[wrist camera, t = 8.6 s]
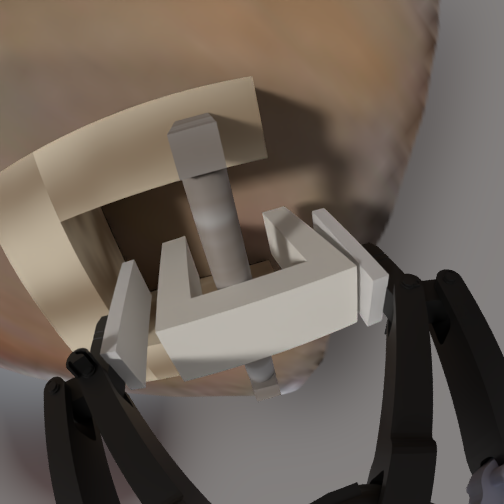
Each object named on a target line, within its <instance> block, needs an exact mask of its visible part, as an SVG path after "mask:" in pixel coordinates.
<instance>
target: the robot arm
mask: <svg viewBox="0 0 504 504" xmlns="http://www.w3.org/2000/svg"><path fill="white" fill-rule="evenodd" d="M312 218H313V229H314V230H315V231H316V232H317V233H318V234H319V235H321V236H322V237H323V238H324V239H325V240H327V241H328V242H329V243H330V244H331V245H333V246H334V247H335V248H336V249H337V250H339V251H340V252H341V253H342V254H343V255H344V256H346V257H347V258H348V259H349V260H350V261H351V262H353V263H354V264H355V265H356V266H357V312H358V313H359V315H360V316H361V317H362V319H363V320H364V322H365V323H366V325H367V326H370V325H373V324H375V323H378V322H380V321H381V320H382V316H383V312H384V314H385V315H386V316H387V318H388V320H387V325H386V329H385V334H387V335H386V336H387V338H386V362H385V378H384V390H383V400H382V410H381V418H380V426H379V433H378V440H377V446H376V452H375V457H374V461H373V464H372V466H371V470H370V473H369V477H368V482H367V484H362V485H358V483H357V482H356V483H354V484H352V485H349V486H346V487H344V488H341V489H338V490H336V491H333V492H330V493H328V494H326V495H324V496H322V497H321V498H319V499H317V500H316V501H314V502H312V503H310V504H434V503H431V502H430V501H431V495H432V489H433V483H434V474H435V466H436V456H437V445H436V442H435V441H434V440H433V438H432V422H433V420H432V419H433V376H432V357H431V344H430V334H431V337H432V339H433V342H434V345H435V347H436V350H437V353H438V355H439V358H440V362H441V364H442V367H443V370H444V374H445V377H446V379H447V383H448V386H449V390H450V393H451V397H452V400H453V404H454V408H455V411H456V415H457V419H458V423H459V428H460V432H461V436H462V441H463V446H464V451H465V455H466V459H467V463H468V466H469V469H470V471H471V473H472V477H471V479H470V481H469V484H468V486H467V493H468V494H469V497H470V499H469V504H504V357H503V354H502V352H501V350H500V348H499V346H498V344H497V341H496V339H495V337H494V335H493V333H492V331H491V329H490V328H489V325H488V323H487V321H486V319H485V317H484V316H483V314H482V312H481V310H480V308H479V306H478V305H477V303H476V301H475V299H474V298H473V296H472V294H471V293H470V291H469V290H468V288H467V286H466V284H465V283H464V281H463V279H462V278H461V276H460V275H459V274H458V273H456V272H455V271H452V270H442V271H440V272H438V274H437V277H436V279H435V280H426V281H421V280H420V279H419V278H418V277H417V276H415V275H412V274H404V273H403V272H402V271H401V270H400V269H399V268H398V266H397V265H396V264H395V263H394V262H393V261H392V260H391V259H389V258H388V256H387V255H386V254H384V252H383V251H382V250H381V249H380V248H379V247H377V246H375V245H373V244H371V243H367V244H364V245H361V244H360V243H359V242H358V241H357V240H356V239H355V238H354V237H353V236H352V235H351V234H350V233H349V232H348V231H347V230H346V229H345V228H344V227H343V226H342V225H341V224H340V223H339V222H338V221H337V220H336V219H335V218H334V217H333V216H332V215H331V214H330V213H329V212H328V211H327V210H326V209H325V208H322V209H318V210H314V211H312ZM151 299H152V295H151V293H150V291H149V289H148V287H147V285H146V283H145V281H144V279H143V277H142V275H141V273H140V271H139V269H138V267H137V265H136V262H135V260H130V261H127V262H124V263H122V266H121V269H120V273H119V276H118V280H117V283H116V287H115V291H114V294H113V298H112V302H111V306H110V310H109V314H108V315H106V316H102V317H101V318H100V320H99V321H98V323H97V324H96V328H95V332H94V333H95V334H94V336H93V340H92V345H91V349H90V352H89V351H88V349H86V348H79V349H77V350H75V351H73V352H72V353H71V354H70V356H69V357H68V359H67V362H66V368H67V369H68V370H69V371H70V372H71V373H72V374H73V375H74V376H75V378H73V379H70V380H68V381H66V382H65V381H64V380H63V379H62V378H61V377H53V378H52V379H50V380H49V381H48V383H47V384H46V386H45V388H44V417H45V418H44V419H45V434H46V445H47V453H48V462H49V469H50V475H51V481H52V486H53V491H54V496H55V500H56V504H120V501H119V498H118V496H117V493H116V489H115V486H114V483H113V480H112V477H111V473H110V470H109V466H108V463H107V459H106V456H105V451H104V447H103V443H102V439H101V435H102V437H103V439H104V441H105V443H106V445H107V447H108V449H109V451H110V452H111V454H112V456H113V458H114V460H115V461H116V463H117V465H118V466H119V468H120V470H121V472H122V473H123V475H124V477H125V478H126V480H127V482H128V483H129V485H130V486H131V488H132V489H133V491H134V492H135V494H136V495H137V497H138V498H139V500H140V501H141V503H142V504H211V503H210V502H209V501H208V500H207V499H206V498H205V497H204V495H203V494H202V493H201V492H200V491H199V490H198V489H197V488H196V487H195V486H194V484H193V483H192V482H191V481H190V480H189V479H188V477H187V476H186V475H185V474H184V473H183V472H182V470H181V469H180V468H179V467H178V465H177V464H176V463H175V461H174V460H173V459H172V458H171V456H170V455H169V454H168V452H167V451H166V450H165V448H164V447H163V446H162V444H161V443H160V442H159V441H158V439H157V438H156V436H155V435H154V433H153V432H152V431H151V429H150V428H149V426H148V425H147V423H146V422H145V420H144V419H143V417H142V416H141V414H140V412H139V411H138V410H137V408H136V407H135V405H134V403H133V401H132V400H131V398H130V397H129V395H128V394H127V393H126V392H125V384H126V385H127V386H128V387H129V388H130V389H131V390H133V389H140V388H146V365H147V347H148V333H149V320H150V309H151ZM429 331H430V333H429ZM100 433H101V434H100Z"/></svg>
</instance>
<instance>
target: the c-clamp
mask: <svg viewBox="0 0 504 504" xmlns="http://www.w3.org/2000/svg"><path fill="white" fill-rule="evenodd" d="M265 158H268V156H267V151H266V145H265V140H264V134H263V129H262V124H261V118H260V113H259V108H258V103H257V98H256V93H255V88H254V83H253V78H252V76H251V77H245V78H239V79H234V80H229V81H224V82H219V83H215V84H210V85H206V86H202V87H198V88H194V89H190V90H186V91H182V92H179V93H175V94H172V95H168V96H165V97H162V98H158V99H155V100H152V101H149V102H146V103H143V104H140V105H137V106H134V107H132V108H129V109H126V110H123V111H121V112H118V113H115V114H113V115H110V116H108V117H105V118H103V119H100V120H98V121H96V122H93V123H91V124H89V125H86V126H84V127H82V128H80V129H78V130H75V131H73V132H71V133H69V134H67V135H65V136H63V137H61V138H59V139H57V140H55V141H53V142H51V143H49V144H47V145H45V146H43V147H42V148H40V149H38V150H36V151H34V152H33V153H31V154H29V155H27V156H26V157H24V158H22V159H21V160H19V161H17V162H16V163H14V164H12V165H11V166H9V167H8V168H6V169H4V170H3V171H1V172H0V245H1V247H2V248H3V250H4V252H5V254H6V256H7V258H8V259H9V261H10V263H11V265H12V266H13V268H14V270H15V272H16V273H17V275H18V277H19V278H20V280H21V281H22V283H23V285H24V286H25V288H26V289H27V291H28V292H29V294H30V295H31V297H32V298H33V300H34V301H35V303H36V304H37V306H38V307H39V309H40V310H41V311H42V313H43V314H44V316H45V317H46V318H47V320H48V321H49V322H50V324H51V325H52V326H53V328H54V329H55V330H56V332H57V333H58V334H59V335H60V337H61V338H62V339H63V340H64V342H65V343H66V344H67V345H68V347H69V348H70V349H71V350H72V351H75V350H77V349H79V348H86V349H88V351H89V352H90V349H91V345H92V340H93V336H94V334H95V333H94V332H95V328H96V324H97V323H98V321H99V320H100V318H101V317H102V316H106V315H108V314H109V310H110V306H111V302H112V298H113V294H114V291H115V287H116V283H117V280H118V276H119V273H120V269H121V266H122V263H124V262H125V261H124V259H123V256H122V254H121V252H120V250H119V248H118V246H117V244H116V241H115V239H114V237H113V235H112V233H111V230H110V228H109V226H108V223H107V221H106V219H105V216H104V214H103V212H102V209H101V207H100V206H103V205H106V204H109V203H111V202H114V201H117V200H120V199H123V198H126V197H129V196H132V195H135V194H138V193H141V192H144V191H147V190H150V189H153V188H156V187H159V186H163V185H166V184H169V183H172V182H176V181H179V180H182V181H183V185H184V188H185V192H186V195H187V198H188V201H189V205H190V208H191V211H192V214H193V218H194V221H195V224H196V227H197V230H198V234H199V237H200V240H201V243H202V246H203V249H204V252H205V255H206V258H207V261H208V264H209V267H210V270H211V273H212V276H209V277H205V278H201V279H200V284H201V290H202V295H204V294H207V293H210V292H214V291H217V290H220V289H223V288H226V287H230V286H233V285H236V284H239V283H242V282H245V281H248V280H252V279H255V278H258V277H261V276H264V275H267V274H270V273H273V272H274V270H273V268H272V266H271V264H270V261H269V260H267V261H264V262H260V263H256V264H253V265H249V262H248V258H247V254H246V250H245V245H244V241H243V237H242V233H241V229H240V224H239V220H238V216H237V212H236V207H235V203H234V199H233V195H232V190H231V186H230V182H229V178H228V173H227V169H226V168H227V167H231V166H235V165H239V164H243V163H247V162H252V161H256V160H260V159H265ZM150 293H151V295H152V299H151V309H150V320H149V333H148V347H147V365H146V382H147V381H153V380H159V379H164V378H170V377H175V376H180V374H179V372H178V371H177V369H176V367H175V366H174V364H173V362H172V361H171V359H170V357H169V355H168V354H167V352H166V350H165V349H164V347H163V345H162V343H161V342H160V340H159V338H158V336H157V334H156V333H155V327H156V309H157V294H158V290H156V291H153V292H150ZM244 365H245V368H246V370H247V373H248V375H249V378H250V380H251V384H252V388H253V391H254V394H255V396H256V399H257V401H261V400H265V399H269V398H272V397H276V396H279V395H281V393H280V389H279V385H278V381H277V378H276V374H275V370H274V366H273V362H272V358H271V356H269V357H266V358H263V359H260V360H257V361H254V362H251V363H247V364H244ZM125 385H126V384H125Z"/></svg>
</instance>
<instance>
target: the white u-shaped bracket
mask: <svg viewBox="0 0 504 504" xmlns="http://www.w3.org/2000/svg"><path fill="white" fill-rule="evenodd" d="M262 214H263V218H264V223H265V228H266V232H267V237H268V242H269V246H270V251H271V255H272V256H273V257H274V259H275V260H276V262H277V263H278V264H279V266H280V267H281V269H282V270H279V271H276V272H273V273H270V274H267V275H264V276H261V277H258V278H255V279H252V280H248V281H245V282H242V283H239V284H236V285H233V286H230V287H226V288H223V289H220V290H217V291H214V292H210V293H207V294H204V295H202V290H201V284H200V278H199V274H198V272H197V269H196V266H195V263H194V260H193V258H192V255H191V252H190V249H189V246H188V243H187V240H186V237H185V236H183V237H180V238H177V239H174V240H171V241H168V242H165V243H162V251H161V260H160V270H159V282H158V294H157V309H156V327H155V333H156V334H157V336H158V338H159V340H160V342H161V343H162V345H163V347H164V349H165V350H166V352H167V354H168V355H169V357H170V359H171V361H172V362H173V364H174V366H175V367H176V369H177V371H178V372H179V374H180V375H181V377H182V379H183V380H184V382H185V381H188V380H192V379H196V378H200V377H204V376H207V375H211V374H214V373H218V372H221V371H225V370H228V369H231V368H235V367H238V366H241V365H244V364H247V363H251V362H254V361H257V360H260V359H263V358H266V357H269V356H272V355H274V354H277V353H280V352H283V351H286V350H289V349H291V348H294V347H297V346H299V345H302V344H305V343H307V342H310V341H313V340H315V339H318V338H320V337H323V336H325V335H328V334H330V333H332V332H335V331H337V330H340V329H342V328H344V327H347V326H349V325H351V324H354V323H356V322H357V266H356V265H355V264H354V263H353V262H351V261H350V260H349V259H348V258H347V257H346V256H344V255H343V254H342V253H341V252H340V251H339V250H337V249H336V248H335V247H334V246H333V245H331V244H330V243H329V242H328V241H327V240H325V239H324V238H323V237H322V236H321V235H319V234H318V233H317V232H316V231H315V230H313V229H312V228H311V227H310V226H308V225H307V224H306V223H305V222H304V221H302V220H301V219H300V218H299V217H297V216H296V215H295V214H294V213H292V212H291V211H290V210H289V209H287V208H286V207H285V206H284V207H280V208H277V209H273V210H270V211H266V212H263V213H262Z"/></svg>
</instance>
